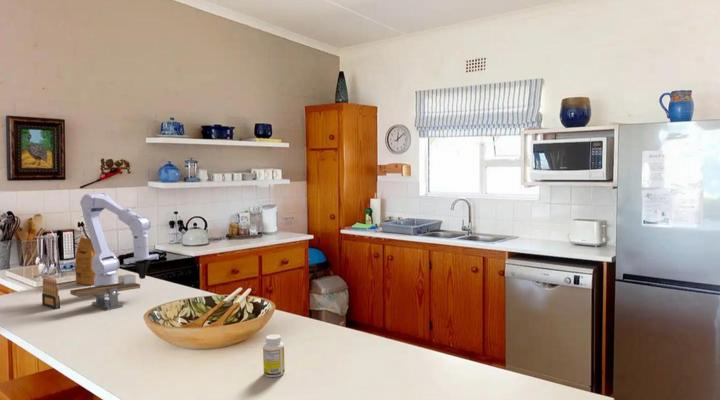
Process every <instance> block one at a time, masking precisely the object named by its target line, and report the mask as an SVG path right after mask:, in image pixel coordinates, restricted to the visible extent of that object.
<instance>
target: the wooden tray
mask: <svg viewBox="0 0 720 400" xmlns="http://www.w3.org/2000/svg"><path fill="white" fill-rule="evenodd" d="M111 289H117V290H118V292H124V291H129V290H137V289H141V284H140V283H137V282H136V284H135V285H128V286H118V282H116V284H110V285H103V286H96V287H94V286H90V287H83V288H75V289H70V291H69V294H70V295H71V296H74V297H77V298H85V297H90V296H91V297H92V296H96V295H99V294H105V293H107V294H109V290H111Z"/></svg>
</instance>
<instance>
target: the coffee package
mask: <svg viewBox="0 0 720 400" xmlns="http://www.w3.org/2000/svg"><path fill="white" fill-rule="evenodd" d="M94 256H95V251H94V248H93V245H92V242H91V239H90V237H89V238H86V237H84V236H80V238H79V242H78V245H77V249H76V253H75V261H74V263H75V264H74V272H75V284H76V285H77V284H78V285H83V286H94V278H95V276H96V274H95V273H94V272H93V269H92V266H93V264H92V259H93V257H94ZM102 260H104V259H102Z"/></svg>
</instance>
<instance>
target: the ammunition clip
mask: <svg viewBox="0 0 720 400" xmlns="http://www.w3.org/2000/svg"><path fill="white" fill-rule="evenodd" d="M41 297H42V298H41V300H42V304H41V305H42V306H43V307H45V308H49V309H53V310H55V309H56V310H60V309H61V302H60V301H61V300H60V295H59V287H58V281H57V278H52V277H49V276H48V277H47V276H45V275H44V276H43V278H42V293H41Z"/></svg>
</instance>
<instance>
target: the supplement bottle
mask: <svg viewBox="0 0 720 400" xmlns="http://www.w3.org/2000/svg"><path fill="white" fill-rule="evenodd" d="M281 337H282V336H281V335H280V334H275V333H274V334H268V335H266V336H265V343H264V344H263V346H262V351H263V352H262V355H263V356H262V359H263V361H262V362H263V374H264V376H265V377H268V378H278V377H280V376H282V375H284V374H285V372H286V371H285V369H286V367H285V365H286V364H285V345H284V344H285V343H284V342H283V341H282V338H281Z"/></svg>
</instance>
